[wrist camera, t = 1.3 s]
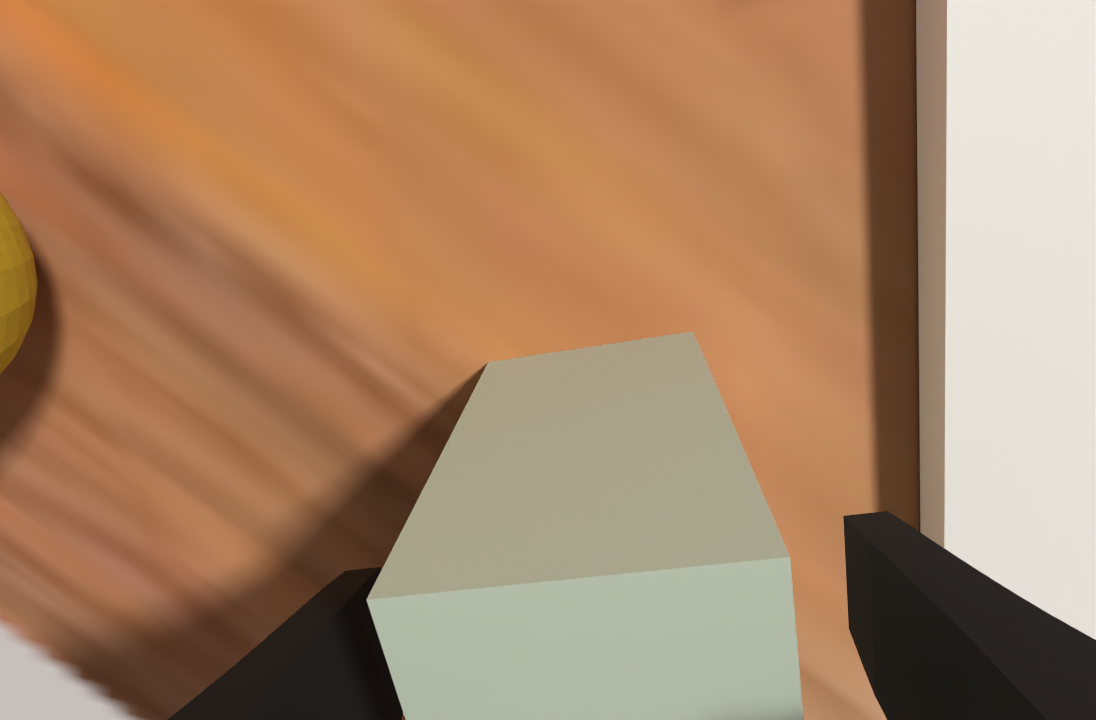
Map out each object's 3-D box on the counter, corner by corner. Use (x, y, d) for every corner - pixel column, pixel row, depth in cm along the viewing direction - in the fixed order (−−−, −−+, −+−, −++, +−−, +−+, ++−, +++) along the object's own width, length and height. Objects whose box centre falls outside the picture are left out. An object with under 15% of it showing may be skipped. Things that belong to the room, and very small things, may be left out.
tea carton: (692, 330, 12) (790, 557, 6) (724, 592, 14) (825, 988, 8) (466, 365, 13) (324, 604, 6) (525, 611, 15) (460, 991, 8)
